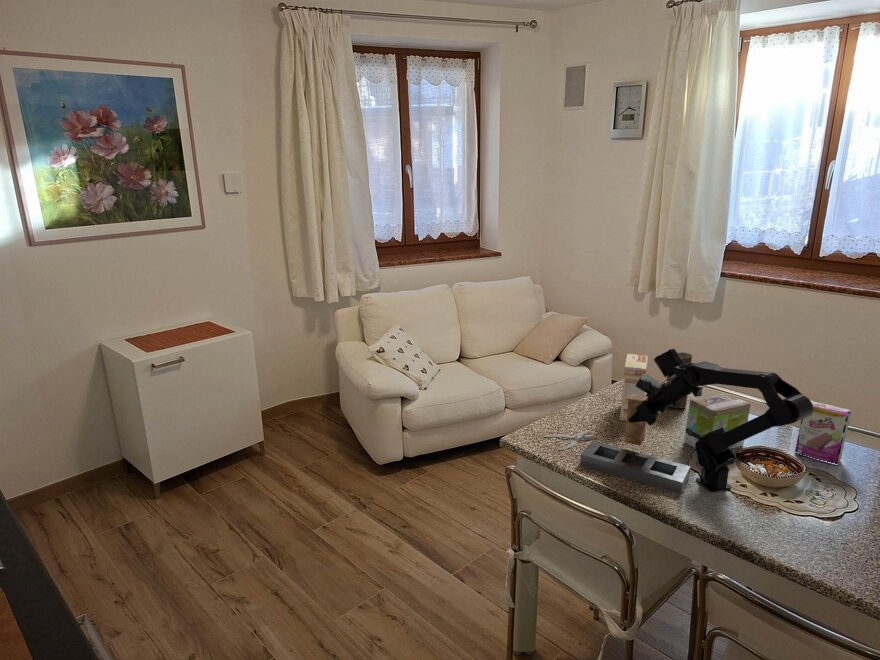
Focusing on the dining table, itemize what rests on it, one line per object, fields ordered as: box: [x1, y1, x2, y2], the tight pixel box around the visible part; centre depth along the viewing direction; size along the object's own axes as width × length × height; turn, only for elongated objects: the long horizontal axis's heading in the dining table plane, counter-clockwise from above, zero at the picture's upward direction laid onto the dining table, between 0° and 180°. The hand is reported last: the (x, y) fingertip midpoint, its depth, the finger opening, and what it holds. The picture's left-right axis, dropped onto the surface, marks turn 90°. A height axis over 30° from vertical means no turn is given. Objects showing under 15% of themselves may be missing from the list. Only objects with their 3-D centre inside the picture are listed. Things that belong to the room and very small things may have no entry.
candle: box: [666, 351, 693, 409], centre depth 207 cm, size 8×7×20 cm
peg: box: [624, 394, 648, 447], centre depth 174 cm, size 4×4×14 cm
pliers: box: [542, 430, 595, 451], centre depth 186 cm, size 10×2×15 cm
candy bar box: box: [794, 399, 852, 464], centre depth 172 cm, size 11×5×16 cm, turn 47°
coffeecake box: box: [619, 353, 649, 422], centre depth 202 cm, size 15×7×20 cm, turn 159°
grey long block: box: [579, 440, 691, 495], centre depth 167 cm, size 28×10×4 cm, turn 56°
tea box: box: [683, 392, 751, 449], centre depth 181 cm, size 15×10×15 cm, turn 114°
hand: (631, 418), depth 174 cm, fingers closed on peg, 4 cm apart
